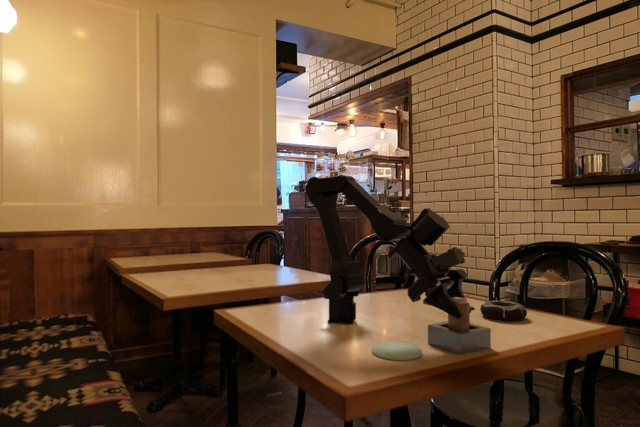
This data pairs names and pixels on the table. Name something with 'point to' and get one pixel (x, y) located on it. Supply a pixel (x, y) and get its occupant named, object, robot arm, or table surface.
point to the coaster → (396, 351)
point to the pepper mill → (463, 321)
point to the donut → (503, 311)
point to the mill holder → (459, 338)
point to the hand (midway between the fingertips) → (465, 315)
